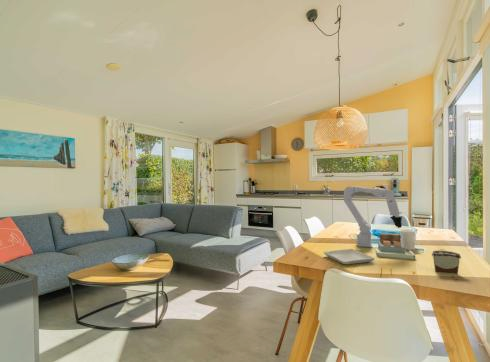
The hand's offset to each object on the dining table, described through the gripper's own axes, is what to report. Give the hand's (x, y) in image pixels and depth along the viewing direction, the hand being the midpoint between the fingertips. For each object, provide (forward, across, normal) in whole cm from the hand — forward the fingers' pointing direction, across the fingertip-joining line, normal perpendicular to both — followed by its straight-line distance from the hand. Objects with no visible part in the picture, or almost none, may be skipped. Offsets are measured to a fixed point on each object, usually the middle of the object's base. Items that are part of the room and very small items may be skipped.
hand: (398, 226), depth 182 cm
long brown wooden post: (+10, 0, +8) cm, 12 cm away
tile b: (+11, -7, +5) cm, 14 cm away
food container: (+20, -40, -9) cm, 46 cm away
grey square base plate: (+14, -4, +9) cm, 17 cm away
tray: (+14, -17, +9) cm, 24 cm away
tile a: (+9, -7, +11) cm, 16 cm away
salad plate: (+9, -34, +36) cm, 50 cm away
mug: (+16, +8, -4) cm, 19 cm away
